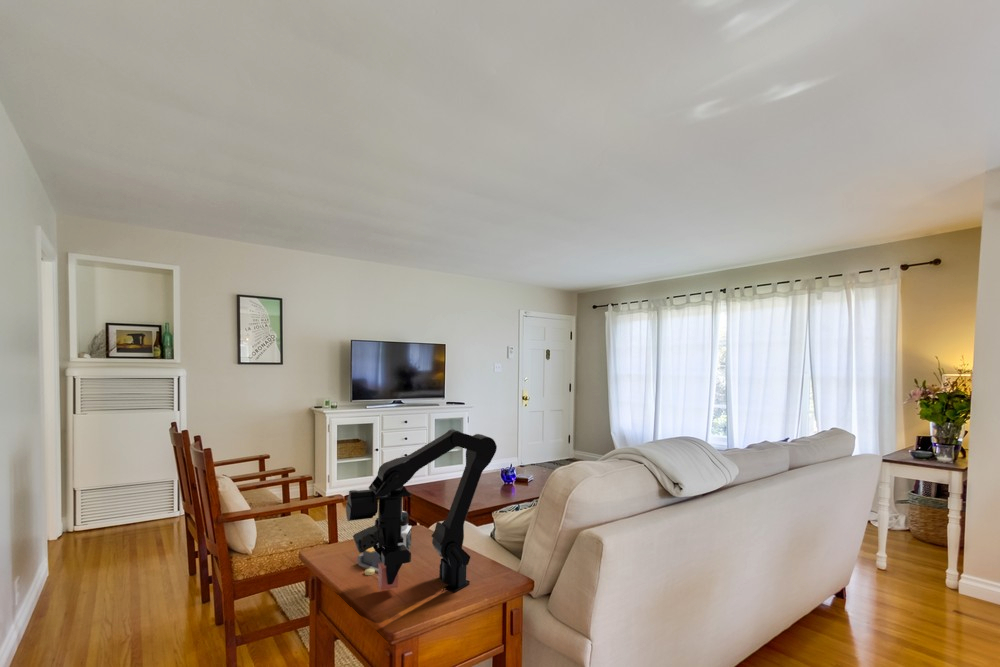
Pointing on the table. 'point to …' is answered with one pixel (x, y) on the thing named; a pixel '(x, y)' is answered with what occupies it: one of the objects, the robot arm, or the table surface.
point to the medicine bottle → (406, 531)
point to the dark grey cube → (371, 557)
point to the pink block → (385, 578)
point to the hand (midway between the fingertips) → (388, 580)
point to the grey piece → (367, 566)
